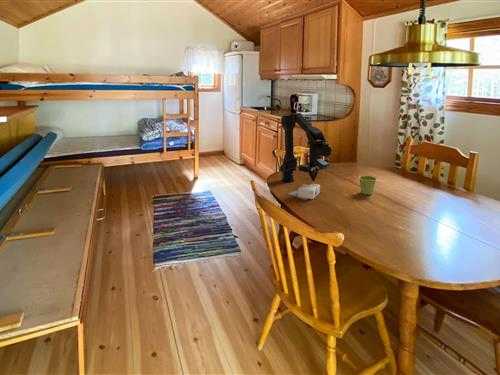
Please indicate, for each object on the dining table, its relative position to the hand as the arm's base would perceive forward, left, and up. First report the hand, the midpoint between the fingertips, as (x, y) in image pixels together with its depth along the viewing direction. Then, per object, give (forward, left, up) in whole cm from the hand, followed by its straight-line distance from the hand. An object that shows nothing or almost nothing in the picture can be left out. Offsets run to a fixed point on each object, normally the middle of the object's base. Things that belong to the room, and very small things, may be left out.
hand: (313, 181), depth 202 cm
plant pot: (+21, +20, -6) cm, 30 cm away
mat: (0, -8, -6) cm, 10 cm away
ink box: (+1, -1, -3) cm, 4 cm away
